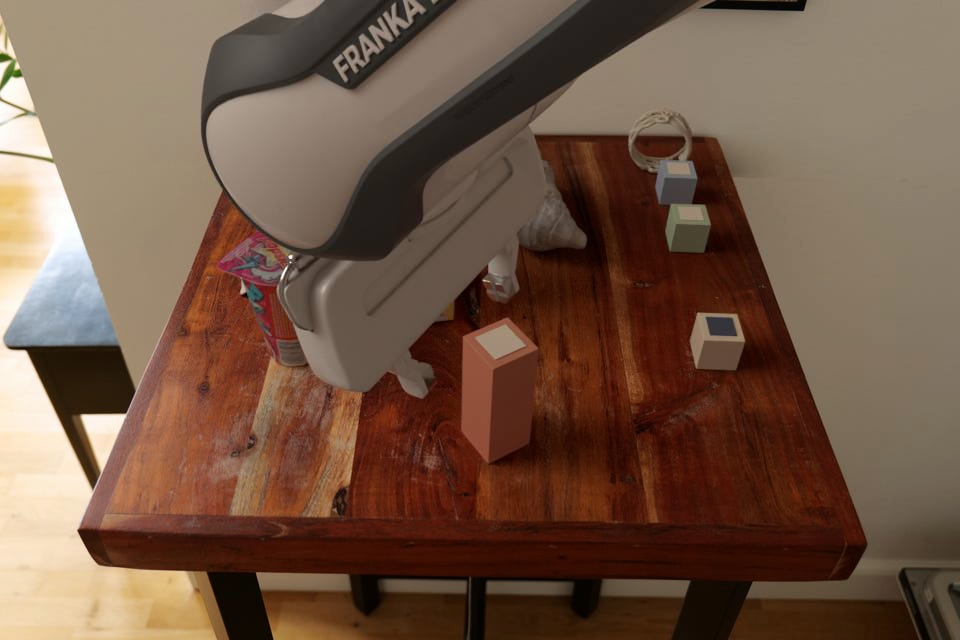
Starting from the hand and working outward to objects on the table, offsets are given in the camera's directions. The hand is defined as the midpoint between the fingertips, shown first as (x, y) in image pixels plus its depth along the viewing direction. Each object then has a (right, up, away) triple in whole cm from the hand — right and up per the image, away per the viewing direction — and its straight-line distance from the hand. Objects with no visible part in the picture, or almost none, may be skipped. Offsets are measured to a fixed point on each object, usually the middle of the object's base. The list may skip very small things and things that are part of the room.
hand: (465, 340), depth 56 cm
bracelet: (+24, +21, +56) cm, 64 cm away
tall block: (+2, -9, +21) cm, 23 cm away
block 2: (+25, +10, +44) cm, 52 cm away
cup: (-18, -2, +29) cm, 34 cm away
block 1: (+25, +17, +51) cm, 59 cm away
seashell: (+6, +13, +46) cm, 48 cm away
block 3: (+24, -2, +30) cm, 39 cm away
